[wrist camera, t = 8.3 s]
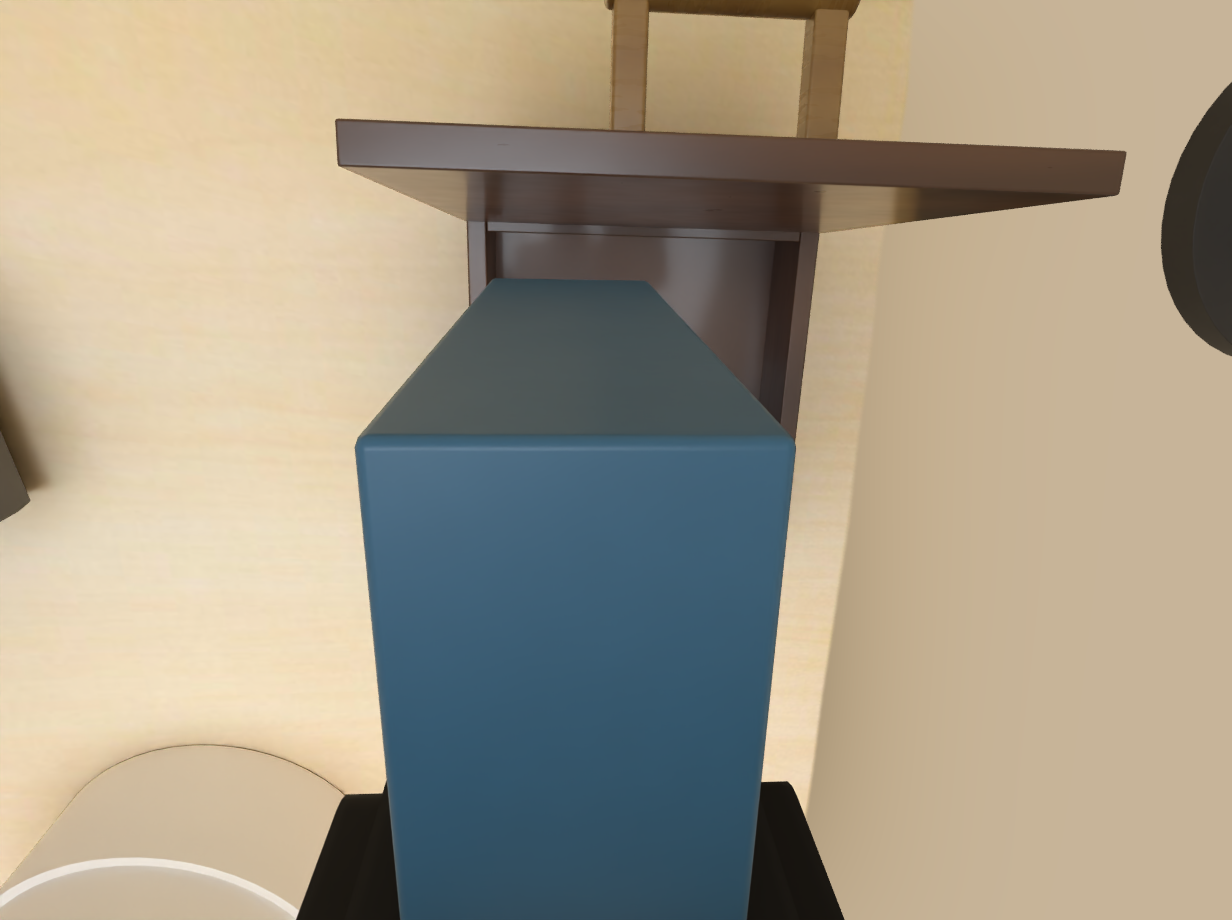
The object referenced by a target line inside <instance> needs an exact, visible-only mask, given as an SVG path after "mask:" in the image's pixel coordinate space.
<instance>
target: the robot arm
mask: <svg viewBox="0 0 1232 920" xmlns="http://www.w3.org/2000/svg"><path fill="white" fill-rule="evenodd" d="M296 920H400V912H399V901H398V891H397V880H396V870H395V860H394V849H393V839H392V828H391V818H390V808H389V797H388V787H387V781H386V784H385V787H384V791H383V794H351V795H345V796H344V797H343V798H342V799H341V801H340V803H339V806H338V808H337V810H336V812H335V815H334V818H333V821H332V823H331V826H330V829H329V831H328V834H327V837H326V839H325V842H324V845H323V848H322V850H321V853H320V856H319V858H318V861H317V864H316V867H315V869H314V872H313V875H312V877H311V880H310V883H309V886H308V888H307V891H306V894H305V896H304V899H303V902H302V904H301V907H300V910H299V913H298V915H297V918H296ZM747 920H844V917H843V915H842V912H841V909H840V907H839V904H838V902H837V899H836V896H835V894H834V891H833V889H832V886H831V883H830V881H829V878H828V876H827V873H826V870H825V868H824V865H823V863H822V860H821V858H820V855H819V852H818V850H817V847H816V845H815V842H814V839H813V837H812V834H811V831H810V829H809V826H808V824H807V821H806V818H805V816H804V813H803V811H802V808H801V805H800V803H799V800H798V798H797V795H796V793H795V791H794V789H793V787H792V786H791V785H790V784H789V783H788V782H787V781H785V782H761V788H760V798H759V807H758V817H757V826H756V836H755V845H754V855H753V865H752V874H751V884H750V893H749V903H748V912H747Z"/></svg>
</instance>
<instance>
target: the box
mask: <svg viewBox="0 0 1232 920" xmlns="http://www.w3.org/2000/svg"><path fill="white" fill-rule="evenodd" d="M818 240H819V233H809V232H778V231H748V230H717V229H687V228H656V227H626V226H595V225H565V224H534V223H504V222H473V221H467V249H468V283H469V306H470V305H471V304H472V303H473V302H474V300H475V299H476V298H477V297H478V296H479V295H480V293H481V292H482V291H483V290H484V289H485V287H486V286H487V285H488V284H489V283H490V282H491V280H493V279H495V278H500V279H566V280H632V281H646V282H648V283H649V284H650V285H651V286H652V287H653V288H654V289H655V290H656V291H657V293H658V294H659V295H660V296H661V297H662V298H663V299H664V300H665V301H666V302H667V303H668V304H669V305H670V306H671V308H672V309H673V310H674V311H675V312H676V313H677V314H678V315H679V316H680V317H681V318H682V319H683V320H684V321H685V323H686V324H687V325H688V326H689V327H690V328H691V329H692V330H693V331H694V332H695V333H696V334H697V335H698V337H699V338H700V339H701V340H702V341H703V342H704V343H705V344H706V345H707V346H708V347H709V348H710V349H711V350H712V352H713V353H714V354H715V355H716V356H717V357H718V358H719V359H720V360H721V361H722V362H723V363H724V364H725V365H726V367H727V368H728V369H729V370H730V371H731V372H732V373H733V374H734V375H735V376H736V377H737V378H738V379H739V381H740V382H741V383H742V384H743V385H744V386H745V387H746V388H747V389H748V390H749V391H750V392H751V393H752V394H753V396H754V397H755V398H756V399H757V400H758V401H759V402H760V403H761V404H762V405H763V406H764V407H765V408H766V410H767V411H768V412H769V413H770V414H771V415H772V416H773V417H774V418H775V419H776V420H777V421H778V422H779V423H780V425H781V426H782V427H783V428H784V429H785V430H786V431H787V432H788V433H789V434H790V435H791V436H792V437H793V439H794V442H795V438H796V429H797V421H798V412H799V403H800V395H801V386H802V378H803V369H804V361H805V352H806V343H807V335H808V326H809V318H810V309H811V301H812V292H813V283H814V275H815V266H816V258H817V249H818Z"/></svg>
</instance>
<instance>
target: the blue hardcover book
mask: <svg viewBox="0 0 1232 920" xmlns="http://www.w3.org/2000/svg"><path fill="white" fill-rule="evenodd" d="M795 453H796V446H795V442H794V439H793V437H792V436H791V435H790V434H789V433H788V432H787V431H786V430H785V429H784V428H783V427H782V426H781V425H780V423H779V422H778V421H777V420H776V419H775V418H774V417H773V416H772V415H771V414H770V413H769V412H768V411H767V410H766V408H765V407H764V406H763V405H762V404H761V403H760V402H759V401H758V400H757V399H756V398H755V397H754V396H753V394H752V393H751V392H750V391H749V390H748V389H747V388H746V387H745V386H744V385H743V384H742V383H741V382H740V381H739V379H738V378H737V377H736V376H735V375H734V374H733V373H732V372H731V371H730V370H729V369H728V368H727V367H726V365H725V364H724V363H723V362H722V361H721V360H720V359H719V358H718V357H717V356H716V355H715V354H714V353H713V352H712V350H711V349H710V348H709V347H708V346H707V345H706V344H705V343H704V342H703V341H702V340H701V339H700V338H699V337H698V335H697V334H696V333H695V332H694V331H693V330H692V329H691V328H690V327H689V326H688V325H687V324H686V323H685V321H684V320H683V319H682V318H681V317H680V316H679V315H678V314H677V313H676V312H675V311H674V310H673V309H672V308H671V306H670V305H669V304H668V303H667V302H666V301H665V300H664V299H663V298H662V297H661V296H660V295H659V294H658V293H657V291H656V290H655V289H654V288H653V287H652V286H651V285H650V284H649V283H648V282H646V281H632V280H566V279H500V278H495V279H493V280H491V282H490V283H489V284H488V285H487V286H486V287H485V289H484V290H483V291H482V292H481V293H480V295H479V296H478V297H477V298H476V299H475V300H474V302H473V303H472V304H471V305H470V306H469V307H468V309H467V310H466V311H465V312H464V313H463V315H462V316H461V317H460V318H459V319H458V320H457V322H456V323H455V324H454V325H453V326H452V328H451V329H450V330H449V331H448V332H447V333H446V335H445V336H444V337H443V338H442V339H441V340H440V342H439V343H438V344H437V345H436V346H435V348H434V349H433V350H432V351H431V352H430V353H429V355H428V356H427V357H426V358H425V359H424V360H423V362H422V363H421V364H420V365H419V366H418V368H417V369H416V370H415V371H414V372H413V373H412V375H411V376H410V377H409V378H408V379H407V380H406V382H405V383H404V384H403V385H402V386H401V388H400V389H399V390H398V391H397V392H396V393H395V395H394V396H393V397H392V398H391V399H390V400H389V402H388V403H387V404H386V405H385V406H384V408H383V409H382V410H381V411H380V412H379V413H378V415H377V416H376V417H375V418H374V419H373V420H372V422H371V423H370V424H369V425H368V426H367V428H366V429H365V430H364V431H363V432H362V433H361V435H360V436H359V437H358V439H357V442H356V445H355V455H356V465H357V475H358V486H359V496H360V507H361V517H362V527H363V538H364V548H365V559H366V569H367V579H368V590H369V600H370V610H371V621H372V631H373V642H374V652H375V662H376V673H377V683H378V694H379V704H380V714H381V725H382V735H383V745H384V756H385V766H386V777H387V787H388V797H389V808H390V818H391V828H392V839H393V849H394V860H395V870H396V880H397V891H398V901H399V912H400V920H747V912H748V903H749V893H750V884H751V874H752V865H753V855H754V845H755V836H756V826H757V817H758V807H759V798H760V788H761V778H762V769H763V759H764V750H765V740H766V730H767V721H768V711H769V702H770V692H771V683H772V673H773V663H774V654H775V644H776V635H777V625H778V616H779V606H780V596H781V587H782V577H783V568H784V558H785V548H786V539H787V529H788V520H789V510H790V501H791V491H792V481H793V472H794V462H795Z"/></svg>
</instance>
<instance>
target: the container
mask: <svg viewBox="0 0 1232 920" xmlns="http://www.w3.org/2000/svg"><path fill="white" fill-rule="evenodd" d="M343 797H344V795H343V794H342V793H341V792H340V791H339V790H338V789H336V788H335V787H333V786H332V785H331V784H329V783H328V782H327V781H325V780H324V779H322V778H320V777H319V776H317V775H315V774H313V773H312V772H310V771H308V770H306V769H304V768H302V767H300V766H298V765H295V764H293V763H291V762H289V761H286V760H283V759H280V758H277V757H275V756H272V755H268V754H264V753H261V752H257V751H253V750H247V749H242V748H236V747H227V746H215V745H191V746H181V747H171V748H166V749H161V750H156V751H152V752H148V753H145V754H142V755H138V756H135V757H133V758H130V759H128V760H125V761H123V762H121V763H118V764H117V765H115V766H113V767H111V768H109V769H108V770H106V771H104V772H103V773H101V774H100V775H98V776H97V777H96V778H94V779H93V780H92V781H90V782H89V783H88V784H87V785H86V786H85V787H84V788H83V789H82V790H81V791H80V792H79V793H78V794H77V795H76V796H75V797H74V799H73V800H72V801H71V802H70V804H69V805H68V806H67V807H66V808H65V810H64V811H63V812H62V813H61V815H60V816H59V817H58V818H57V819H56V821H55V822H54V823H53V824H52V826H51V827H50V828H49V829H48V831H47V832H46V833H45V834H44V835H43V837H42V838H41V839H40V840H39V842H38V843H37V844H36V845H35V846H34V848H33V849H32V850H31V851H30V853H29V854H28V855H27V856H26V857H25V859H24V860H23V861H22V862H21V864H20V865H19V866H18V867H17V869H16V870H15V871H14V872H13V873H12V875H11V876H10V877H9V878H8V880H7V881H6V882H5V883H4V884H3V886H2V887H1V888H0V920H296V918H297V915H298V913H299V910H300V907H301V904H302V902H303V899H304V896H305V894H306V891H307V888H308V886H309V883H310V880H311V877H312V875H313V872H314V869H315V867H316V864H317V861H318V858H319V856H320V853H321V850H322V848H323V845H324V842H325V839H326V837H327V834H328V831H329V829H330V826H331V823H332V821H333V818H334V815H335V812H336V810H337V808H338V806H339V803H340V801H341V799H342V798H343Z"/></svg>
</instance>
